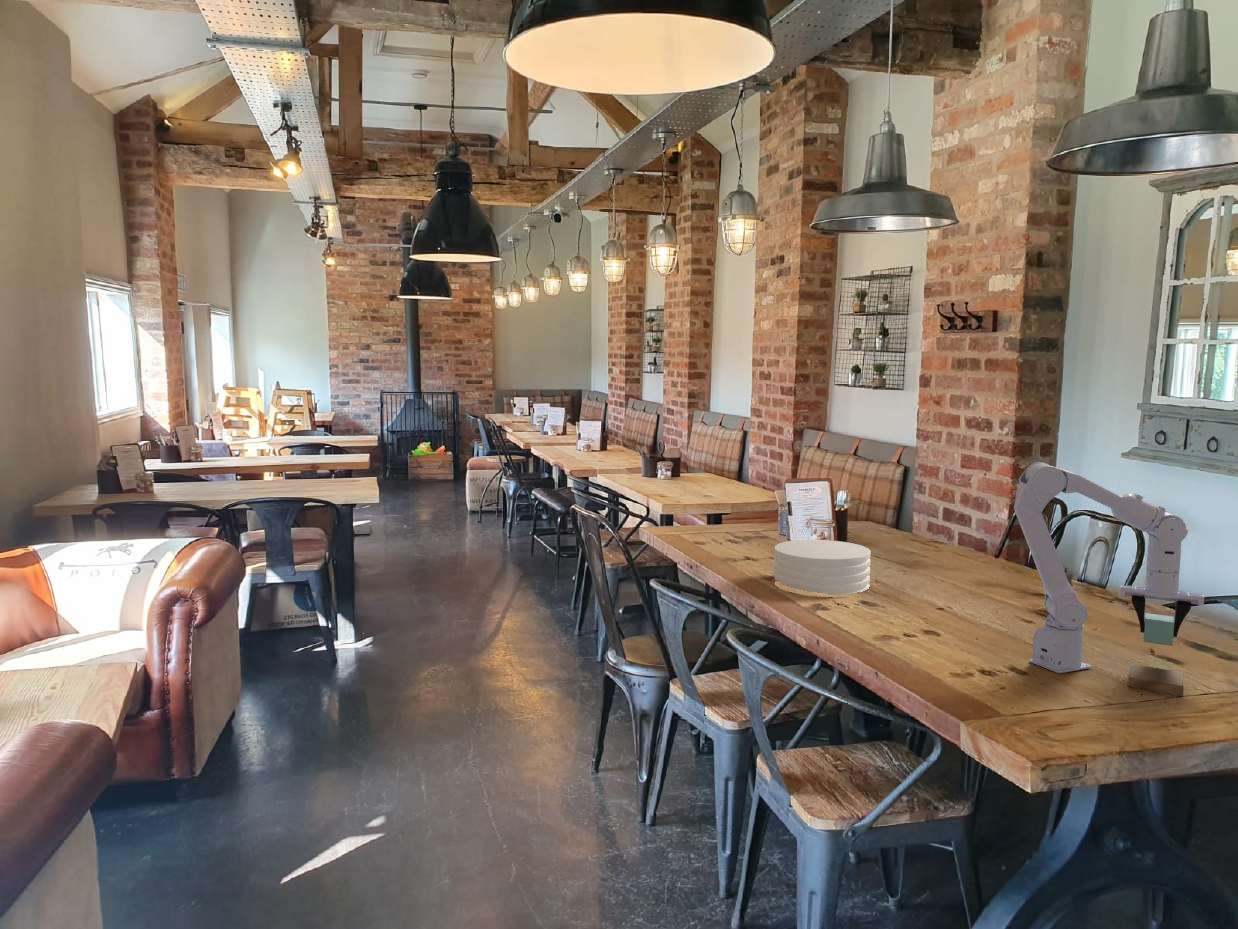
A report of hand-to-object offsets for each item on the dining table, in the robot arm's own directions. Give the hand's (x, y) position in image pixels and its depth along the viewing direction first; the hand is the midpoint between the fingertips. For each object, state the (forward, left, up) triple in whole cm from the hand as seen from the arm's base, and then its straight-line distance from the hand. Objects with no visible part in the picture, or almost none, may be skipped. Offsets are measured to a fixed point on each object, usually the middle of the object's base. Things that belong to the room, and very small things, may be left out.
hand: (1158, 633), depth 170 cm
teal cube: (0, 0, -2) cm, 2 cm away
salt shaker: (+20, +40, -9) cm, 46 cm away
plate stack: (-23, +87, -9) cm, 91 cm away
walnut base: (-6, -5, -8) cm, 12 cm away
